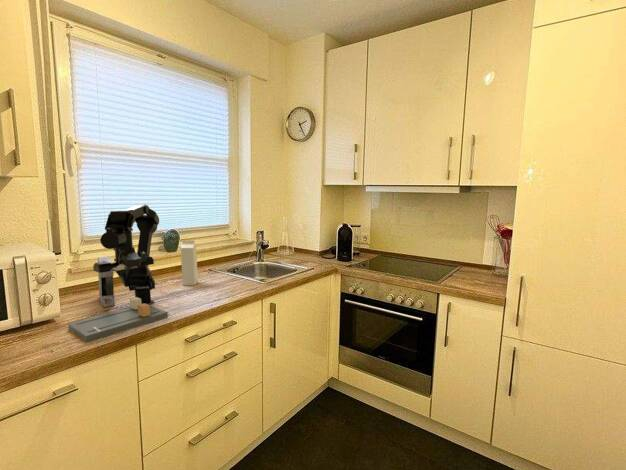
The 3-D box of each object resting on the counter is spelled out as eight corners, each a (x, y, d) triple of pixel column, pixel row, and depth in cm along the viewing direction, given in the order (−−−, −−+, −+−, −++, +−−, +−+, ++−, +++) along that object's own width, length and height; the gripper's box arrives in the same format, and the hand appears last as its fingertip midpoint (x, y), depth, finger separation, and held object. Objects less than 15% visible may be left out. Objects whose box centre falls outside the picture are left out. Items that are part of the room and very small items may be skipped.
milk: (194, 285, 165) (192, 241, 162) (182, 285, 164) (180, 241, 161) (197, 281, 171) (196, 239, 168) (185, 282, 170) (183, 239, 167)
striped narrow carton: (116, 306, 134) (113, 263, 132) (101, 309, 131) (98, 265, 129) (112, 294, 149) (109, 256, 147) (99, 296, 146) (95, 257, 144)
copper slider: (138, 314, 118) (137, 304, 118) (144, 312, 120) (144, 303, 119) (143, 316, 116) (142, 307, 115) (150, 314, 117) (149, 305, 117)
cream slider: (130, 307, 125) (129, 298, 125) (136, 305, 127) (136, 296, 127) (135, 309, 123) (134, 300, 123) (141, 307, 125) (141, 298, 124)
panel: (68, 329, 111) (68, 323, 111) (146, 308, 131) (146, 303, 131) (86, 342, 101) (85, 335, 101) (167, 317, 122) (167, 311, 121)
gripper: (104, 250, 108) (107, 296, 109) (160, 243, 122) (162, 284, 124) (91, 247, 114) (94, 291, 116) (145, 241, 129) (147, 280, 131)
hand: (126, 286), depth 122 cm, fingers closed
